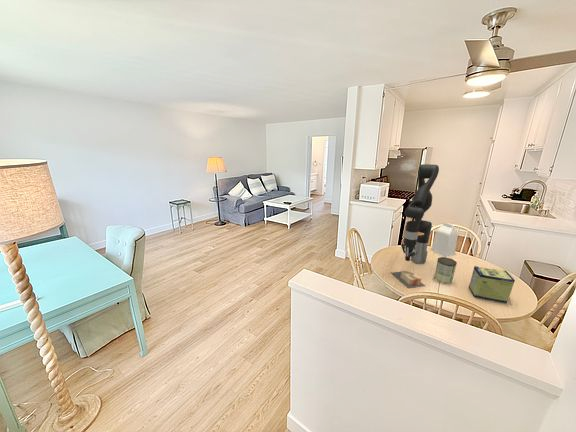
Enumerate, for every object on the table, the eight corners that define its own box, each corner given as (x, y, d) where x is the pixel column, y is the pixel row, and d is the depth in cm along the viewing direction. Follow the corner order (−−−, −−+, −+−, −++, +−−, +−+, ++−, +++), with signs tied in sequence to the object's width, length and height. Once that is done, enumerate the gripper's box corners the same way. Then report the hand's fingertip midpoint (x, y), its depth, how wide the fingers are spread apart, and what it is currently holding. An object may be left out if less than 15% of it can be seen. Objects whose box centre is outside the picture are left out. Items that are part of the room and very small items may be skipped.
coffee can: (432, 274, 155) (435, 256, 150) (449, 276, 151) (453, 258, 147) (436, 282, 145) (440, 263, 141) (454, 285, 142) (459, 265, 138)
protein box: (507, 303, 125) (515, 280, 120) (473, 297, 131) (480, 274, 126) (499, 292, 134) (506, 270, 129) (468, 287, 140) (473, 265, 135)
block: (410, 270, 151) (421, 278, 141) (409, 276, 152) (420, 284, 143) (401, 271, 150) (411, 280, 140) (400, 277, 151) (410, 286, 142)
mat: (406, 271, 159) (406, 270, 159) (425, 286, 142) (425, 285, 142) (391, 273, 157) (391, 272, 157) (408, 288, 140) (408, 287, 140)
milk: (431, 251, 188) (436, 222, 180) (440, 248, 192) (446, 220, 184) (445, 257, 177) (451, 227, 169) (454, 254, 181) (461, 224, 173)
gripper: (423, 240, 138) (419, 264, 143) (408, 232, 150) (405, 255, 156) (412, 241, 137) (409, 266, 142) (398, 233, 149) (395, 256, 154)
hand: (407, 260), depth 149 cm, fingers closed
